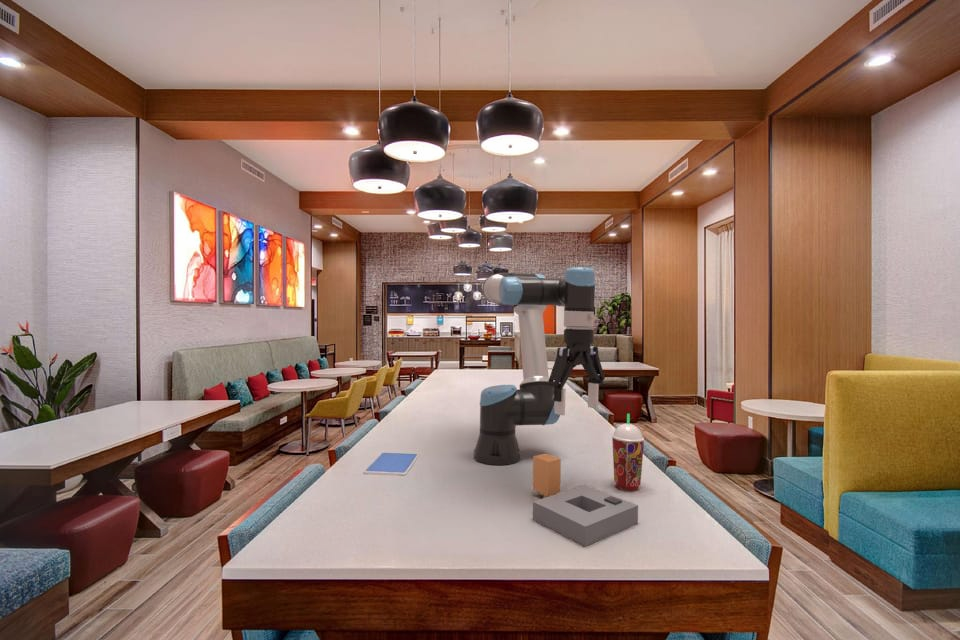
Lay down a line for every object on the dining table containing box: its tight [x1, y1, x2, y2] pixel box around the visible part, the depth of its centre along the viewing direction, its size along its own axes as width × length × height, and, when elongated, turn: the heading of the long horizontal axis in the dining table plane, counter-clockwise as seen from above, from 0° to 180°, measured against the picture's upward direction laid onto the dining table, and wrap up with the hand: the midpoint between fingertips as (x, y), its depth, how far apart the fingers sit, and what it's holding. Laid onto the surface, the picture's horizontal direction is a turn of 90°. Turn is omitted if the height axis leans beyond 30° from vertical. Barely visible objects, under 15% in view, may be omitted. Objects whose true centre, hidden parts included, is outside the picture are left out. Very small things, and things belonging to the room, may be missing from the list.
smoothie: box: [611, 413, 645, 492], centre depth 122 cm, size 8×8×20 cm
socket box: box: [532, 484, 639, 548], centre depth 101 cm, size 15×18×4 cm
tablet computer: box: [363, 452, 420, 476], centre depth 138 cm, size 19×13×1 cm, turn 176°
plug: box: [532, 453, 562, 498], centre depth 115 cm, size 5×4×10 cm
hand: (576, 411), depth 115 cm, fingers open, 13 cm apart
